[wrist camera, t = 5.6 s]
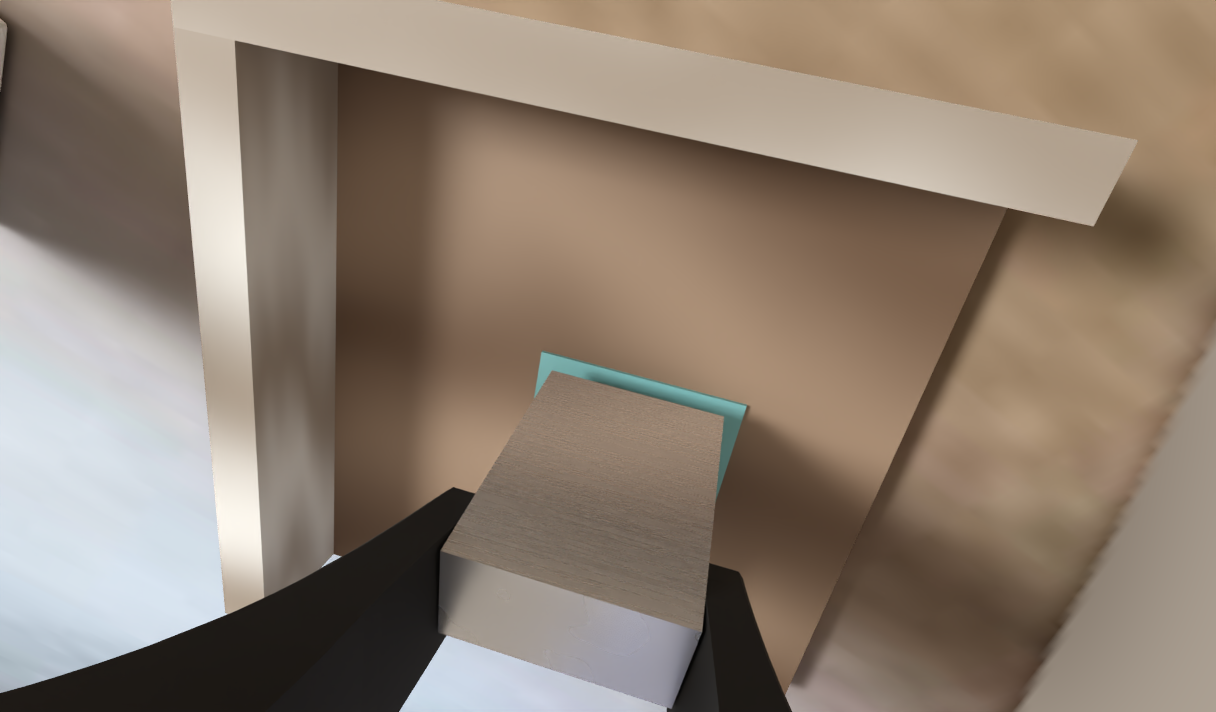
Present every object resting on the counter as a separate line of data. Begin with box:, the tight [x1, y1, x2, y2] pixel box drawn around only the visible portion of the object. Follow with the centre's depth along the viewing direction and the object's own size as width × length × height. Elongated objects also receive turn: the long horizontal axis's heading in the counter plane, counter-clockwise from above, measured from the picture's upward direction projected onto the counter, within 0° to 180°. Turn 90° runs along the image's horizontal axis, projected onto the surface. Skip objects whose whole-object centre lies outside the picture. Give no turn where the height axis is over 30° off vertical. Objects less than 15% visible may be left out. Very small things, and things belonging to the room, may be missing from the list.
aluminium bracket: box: [438, 370, 724, 709], centre depth 13 cm, size 4×6×6 cm, turn 168°
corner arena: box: [171, 0, 1138, 695], centre depth 14 cm, size 15×15×4 cm
